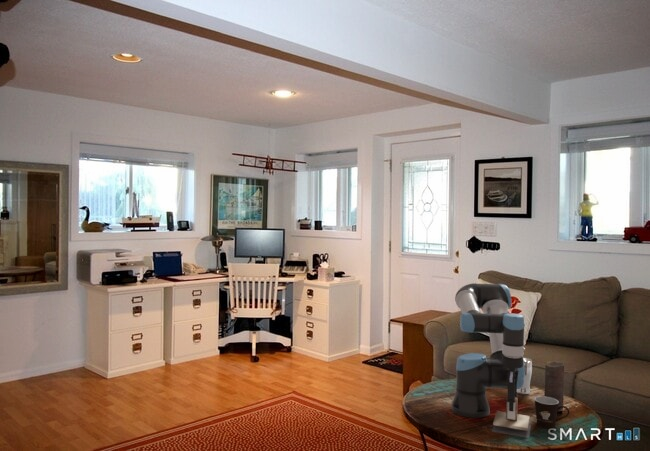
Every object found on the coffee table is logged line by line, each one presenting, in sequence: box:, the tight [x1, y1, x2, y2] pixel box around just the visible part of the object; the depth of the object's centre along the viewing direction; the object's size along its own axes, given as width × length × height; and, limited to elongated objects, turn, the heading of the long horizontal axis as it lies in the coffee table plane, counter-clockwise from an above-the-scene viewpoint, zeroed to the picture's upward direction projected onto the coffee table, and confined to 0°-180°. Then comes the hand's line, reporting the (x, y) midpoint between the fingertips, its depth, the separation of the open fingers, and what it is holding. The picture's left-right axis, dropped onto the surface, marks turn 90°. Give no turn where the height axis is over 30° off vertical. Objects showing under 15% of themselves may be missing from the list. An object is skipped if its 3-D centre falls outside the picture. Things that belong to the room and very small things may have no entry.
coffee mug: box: [533, 395, 570, 429], centre depth 201 cm, size 12×9×10 cm
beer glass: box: [517, 357, 533, 395], centre depth 240 cm, size 7×7×15 cm
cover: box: [492, 397, 531, 431], centre depth 199 cm, size 12×12×9 cm
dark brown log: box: [544, 361, 565, 412], centre depth 218 cm, size 8×7×20 cm
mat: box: [491, 423, 532, 439], centre depth 199 cm, size 13×13×1 cm
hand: (511, 416), depth 200 cm, fingers closed on cover, 4 cm apart
